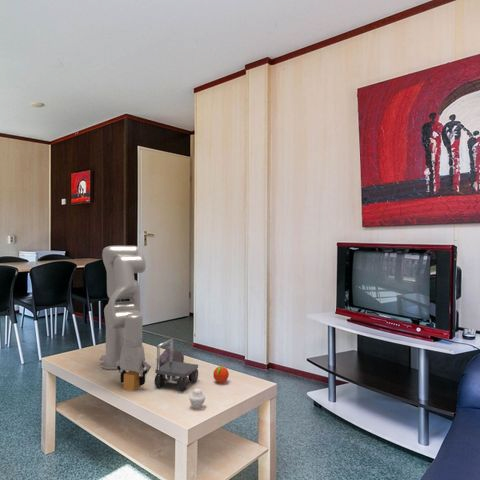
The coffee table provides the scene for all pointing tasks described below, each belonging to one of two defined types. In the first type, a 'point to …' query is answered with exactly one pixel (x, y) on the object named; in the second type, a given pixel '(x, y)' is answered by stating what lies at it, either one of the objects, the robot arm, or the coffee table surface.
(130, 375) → the block
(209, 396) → the coffee table surface
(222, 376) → the clementine
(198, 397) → the white lidded jar
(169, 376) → the trolley
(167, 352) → the stone
